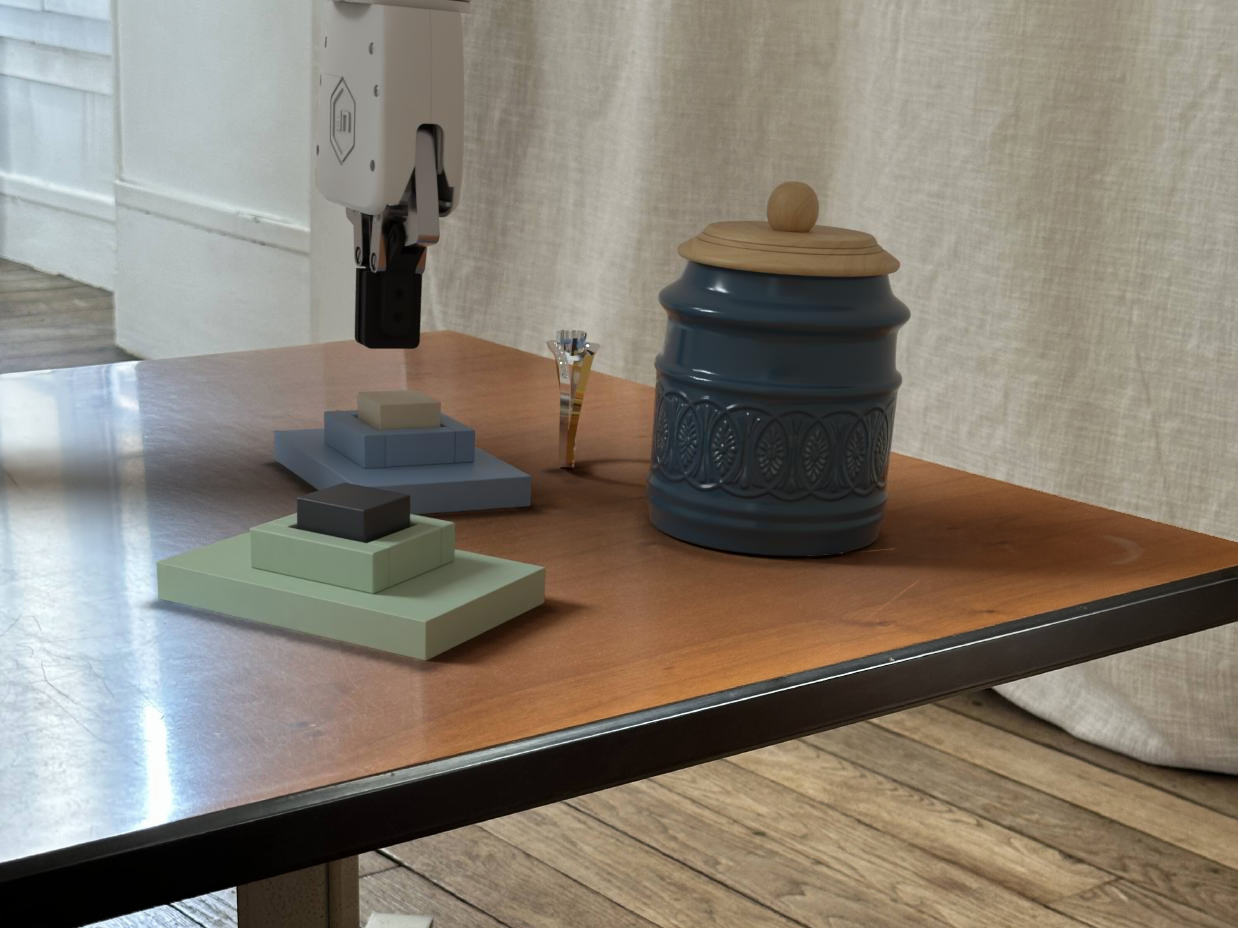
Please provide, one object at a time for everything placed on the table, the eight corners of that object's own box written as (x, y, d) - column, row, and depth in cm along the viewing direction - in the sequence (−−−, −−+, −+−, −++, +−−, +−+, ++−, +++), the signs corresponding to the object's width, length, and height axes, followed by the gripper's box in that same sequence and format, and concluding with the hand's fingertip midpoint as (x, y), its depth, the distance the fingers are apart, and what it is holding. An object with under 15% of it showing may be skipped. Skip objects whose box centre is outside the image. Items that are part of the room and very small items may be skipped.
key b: (357, 423, 99) (356, 391, 98) (416, 420, 100) (416, 389, 100) (380, 436, 96) (380, 404, 95) (441, 433, 98) (441, 401, 97)
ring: (545, 453, 108) (551, 320, 105) (597, 456, 108) (604, 323, 105) (534, 479, 102) (540, 338, 99) (589, 482, 102) (597, 342, 99)
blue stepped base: (274, 459, 103) (272, 399, 101) (432, 450, 107) (433, 392, 106) (358, 519, 92) (357, 452, 90) (531, 506, 96) (533, 442, 95)
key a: (296, 536, 77) (295, 496, 76) (344, 519, 80) (344, 481, 79) (364, 550, 75) (364, 510, 75) (410, 532, 78) (411, 494, 78)
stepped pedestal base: (157, 598, 78) (153, 521, 76) (294, 550, 86) (293, 479, 84) (425, 661, 72) (426, 578, 71) (544, 603, 80) (547, 528, 79)
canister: (899, 568, 89) (945, 200, 82) (644, 553, 89) (668, 183, 81) (867, 505, 101) (906, 179, 94) (642, 492, 101) (663, 164, 93)
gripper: (279, -34, 93) (277, 322, 100) (381, -30, 81) (370, 372, 89) (411, -20, 96) (400, 323, 104) (527, -15, 85) (505, 372, 92)
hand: (387, 345), depth 96 cm, fingers closed
